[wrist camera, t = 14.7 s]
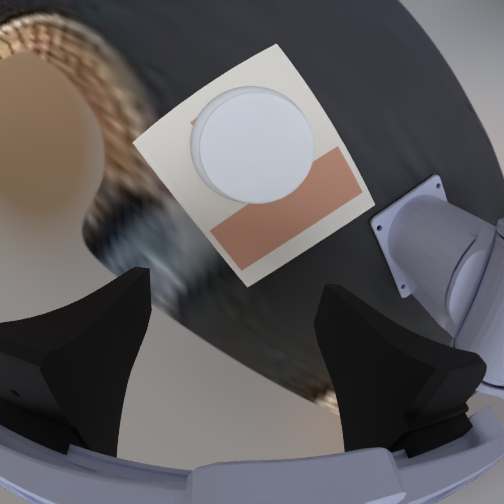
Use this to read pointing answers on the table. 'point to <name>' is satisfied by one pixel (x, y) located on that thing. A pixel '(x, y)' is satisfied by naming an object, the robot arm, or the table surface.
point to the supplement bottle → (252, 145)
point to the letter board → (268, 214)
